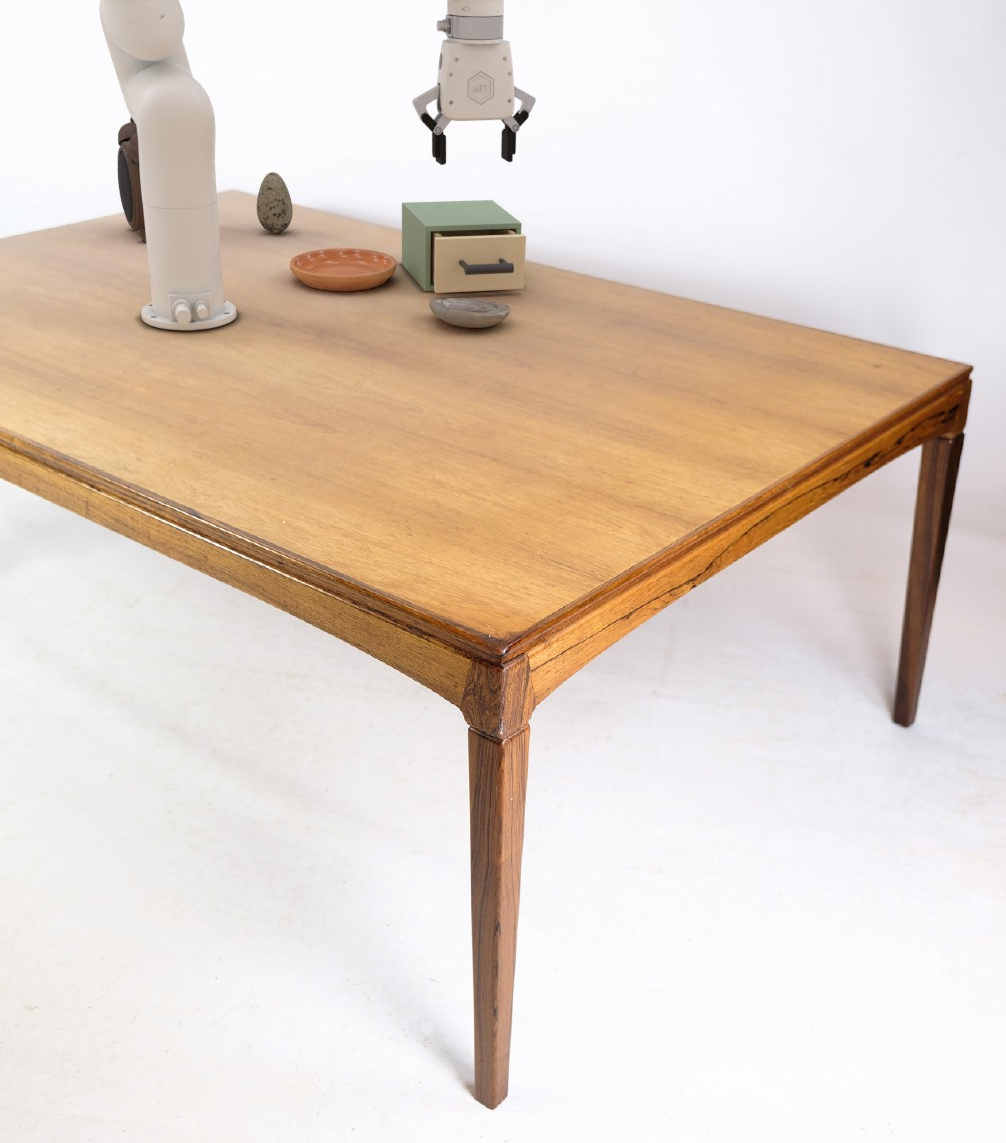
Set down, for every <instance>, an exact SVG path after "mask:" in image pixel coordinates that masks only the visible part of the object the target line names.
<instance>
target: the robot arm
mask: <svg viewBox="0 0 1006 1143" xmlns="http://www.w3.org/2000/svg"><path fill="white" fill-rule="evenodd" d="M98 7H99V8H98V12H99V19H100V24H101V28H102V33H103V34H104V38H105V43H106V45H107V49H108V52H109V55H110V58H111V61H112V64H113V68H114V72H115V75H116V78H117V81H118V85H119V87H120V90H121V94H122V98H123V100H124V103H125V106H126V109H127V111H128V113H129V115H130V118H131V117H132V119H133V120H134V122H135V123H136V126H137V133H138V146H139V166H140V181H141V192H142V202H143V210H144V221H145V239H146V241H145V242H146V249H147V250H146V252H147V263H148V272H149V283H150V284H149V285H150V295H151V302H149V303H147V304H145V306H143V307H142V308H141V311H140V314H141V320H142V321H143V322H144V323H146V324H147V325H149V326H151V327H155V328H158V329H162V330H170V331H200V330H209V329H213V328H218V327H221V326H224V325H227V324H229V323H232V322H233V321H234V320H235V319H236V318H237V314H238V313H237V307H236V306H235V304H233V303H232V302H231V301H228V300H225V294H224V280H223V264H222V253H221V252H222V251H221V237H220V221H219V220H220V219H219V208H218V206H219V205H218V192H217V175H216V132H217V131H216V117H215V110H214V107H213V104H212V101H211V99H210V96H209V95H208V93H207V91H206V89H205V88H204V86H203V85H202V84H201V83H200V82H199V81H198V80H197V79H196V78H195V77H193V73H192V70H191V66H190V62H189V59H188V55H187V51H186V48H185V44H184V41H183V39H184V35H185V27H186V26H185V25H186V23H185V22H186V21H185V15H184V11H183V7H182V5H181V2H180V0H99V6H98ZM504 12H505V0H446V14H445V18H444V19H441V20H437V21H436V30H437V32H442V33H444V34H445V36H446V39H443V40H442V43H441V47H440V52H439V53H440V54H439V60H438V69H437V79H436V85H435V86H433V87H432V88H430V89H428V90H426V91H424V92H423V93H421V94H419V95H418V96H416V97H414V98H413V99H412V102H411V103H412V106H413V108H414V110H415V112H416V114H417V116H418V118H419V120H420V121H421V123H423V125H425V127H426V128H428V130H429V131H430V132H431V155H432V158H435V159H434V160H435V162H436V163H437V164H440V165H441V166H444V165H446V164H447V135H445V134H444V131H445V129H446V128H447V127H448V125H449V124H450V123H451V122H452V121H454V122H470V121H471V122H473V121H475V122H477V121H499V120H500V121H501V122H502V124H503V125H504V128H502V130H501V141H500V143H501V144H500V146H501V147H500V158H501V159H503V160H504V161H506V162H508V163H513V162H514V161H513V160H514V157H513V156H514V155H516V152H517V132H519V131H520V129H521V126H522V125H523V124H524V123H525V122H527V120H528V119H529V117H530V113H531V112H532V110H533V108H534V106H535V103H536V102H537V101H536V97H535V96H533V95H531V94H530V93H528V92H526V91H524V90H522V89H521V88H518V86H515V79H514V66H513V56H512V49H511V48H512V47H511V43H510V41H509V40H506V39H504V20H505V18H504V16H505V14H504ZM515 99H517V100H519V101H520V102H521V105H520V107H519V109H518V110H517V111H516V112H515ZM435 100H436V102H435V103H436V110H437V112H438V113H436V115H435V116H434V118H433V117H432V116H431V115H430V114H429V112H428V109H427V106H428V105H429V104H431V103H432V102H434V101H435Z"/></svg>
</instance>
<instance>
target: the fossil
mask: <svg viewBox="0 0 1006 1143" xmlns="http://www.w3.org/2000/svg"><path fill="white" fill-rule="evenodd" d="M428 305H429V309H430V310H431V313H433V315H435V316H436V317H437V318H438V319H440V320H442V321H443V322H445V323H447V324H450V325H453V326H457V327H461V328H467V329H468V328H469V329H471V328H473V329H478V328H479V329H481V328H482V329H483V328H489V327H493V326H496V325H498V324H500V323H501V322H503V321H504V320H505V319H506V318H507V317H508V316H509V315H510V313H511V311H512V308H511V307H510V305H509V304H506V303H501V302H498V301H495V300H493V301H492V300H487V299H479V298H461V297H459V298H458V297H456V298H453V297H449V298H448V297H446V298H430V299H429V300H428Z"/></svg>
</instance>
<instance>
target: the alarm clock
mask: <svg viewBox="0 0 1006 1143" xmlns="http://www.w3.org/2000/svg"><path fill="white" fill-rule="evenodd" d="M117 144H118V147H119V148H118V149H117V183H118V184H117V185H118V190H119V191H118V192H119V197H120V202H121V203H120V204H121V206H122V209H123V210H122V211H123V213H124V217H125V219H126V222H127V224H128V225H129V227H130V229H132V230H133V231H134V232H135V231H136V232H137V231H139V234H140V236H141V242H142V243H145V242H146V232H145V221H144V210H143V202H142V192H141V181H140V166H139V146H138V133H137V126H136V123H135V122H134V120H133V119H132V117H131V116H130V118H129V122H126V123H124V124H123V125H121V127H120V128H119V129H118V133H117Z"/></svg>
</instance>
